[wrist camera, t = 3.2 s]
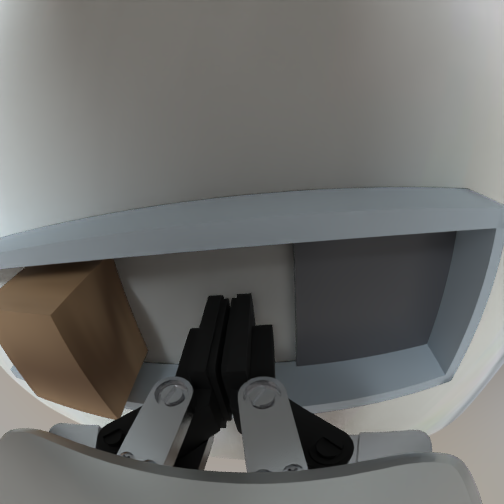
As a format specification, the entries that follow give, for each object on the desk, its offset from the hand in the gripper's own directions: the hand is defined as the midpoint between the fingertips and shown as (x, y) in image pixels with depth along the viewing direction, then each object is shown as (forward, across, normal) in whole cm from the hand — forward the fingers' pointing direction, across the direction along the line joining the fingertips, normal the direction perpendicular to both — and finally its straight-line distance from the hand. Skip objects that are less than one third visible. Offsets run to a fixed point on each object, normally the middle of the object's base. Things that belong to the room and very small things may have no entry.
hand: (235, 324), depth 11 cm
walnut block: (+2, +8, 0) cm, 9 cm away
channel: (+1, +3, 0) cm, 3 cm away
